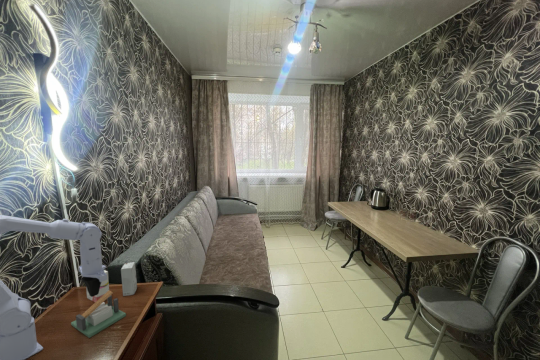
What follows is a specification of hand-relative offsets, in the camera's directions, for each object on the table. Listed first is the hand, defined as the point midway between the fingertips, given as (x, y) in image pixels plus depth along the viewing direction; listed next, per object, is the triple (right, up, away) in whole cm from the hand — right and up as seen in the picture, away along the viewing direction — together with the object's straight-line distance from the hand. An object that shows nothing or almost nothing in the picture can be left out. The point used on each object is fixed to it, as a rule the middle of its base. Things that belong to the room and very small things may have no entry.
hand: (94, 294), depth 83 cm
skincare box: (+1, -9, +20) cm, 22 cm away
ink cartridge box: (-10, -9, +15) cm, 20 cm away
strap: (0, -4, +1) cm, 4 cm away
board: (0, -10, +2) cm, 10 cm away
